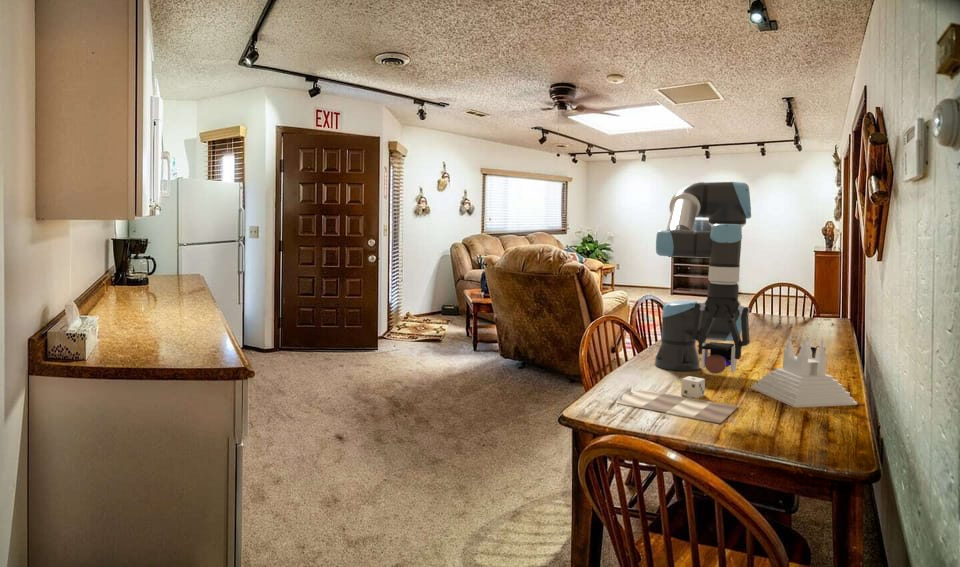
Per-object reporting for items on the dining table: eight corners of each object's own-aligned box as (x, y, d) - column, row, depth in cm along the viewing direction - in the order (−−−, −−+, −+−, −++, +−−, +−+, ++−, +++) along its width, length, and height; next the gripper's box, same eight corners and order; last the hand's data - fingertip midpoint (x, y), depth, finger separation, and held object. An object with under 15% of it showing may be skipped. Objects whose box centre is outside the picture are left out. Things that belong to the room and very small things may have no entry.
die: (687, 392, 187) (688, 375, 186) (704, 395, 184) (705, 378, 183) (680, 395, 183) (681, 378, 183) (697, 399, 180) (698, 382, 179)
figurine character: (709, 367, 173) (699, 372, 160) (711, 340, 173) (701, 342, 160) (735, 371, 170) (727, 376, 156) (737, 343, 170) (729, 346, 156)
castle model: (794, 408, 173) (799, 343, 171) (750, 389, 192) (754, 330, 191) (857, 405, 176) (862, 342, 175) (808, 387, 196) (812, 329, 194)
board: (640, 390, 188) (640, 389, 188) (738, 407, 171) (738, 406, 171) (616, 403, 173) (616, 402, 173) (720, 424, 157) (720, 423, 157)
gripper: (766, 284, 160) (761, 371, 162) (690, 279, 172) (685, 360, 174) (760, 286, 154) (754, 377, 156) (681, 281, 165) (676, 365, 168)
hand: (718, 368), depth 165 cm, fingers closed on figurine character, 7 cm apart
